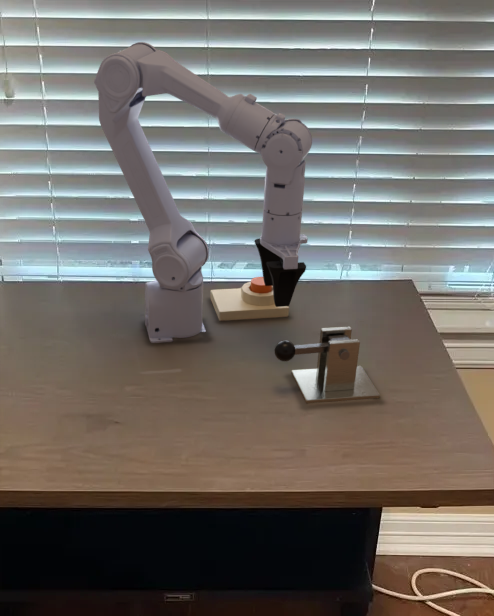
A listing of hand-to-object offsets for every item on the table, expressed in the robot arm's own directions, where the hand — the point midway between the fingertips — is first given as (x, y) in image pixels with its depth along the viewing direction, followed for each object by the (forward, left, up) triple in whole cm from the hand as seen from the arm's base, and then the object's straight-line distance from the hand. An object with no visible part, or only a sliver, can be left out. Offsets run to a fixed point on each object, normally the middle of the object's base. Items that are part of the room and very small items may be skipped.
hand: (276, 295), depth 143 cm
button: (+1, +15, -6) cm, 16 cm away
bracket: (+6, -14, -9) cm, 18 cm away
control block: (-1, +15, -9) cm, 17 cm away
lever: (+2, -14, -4) cm, 15 cm away
